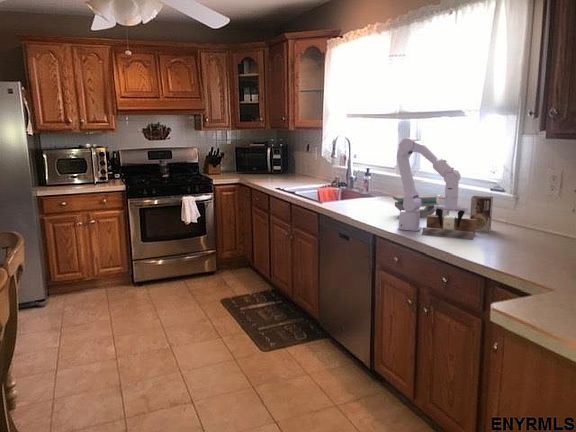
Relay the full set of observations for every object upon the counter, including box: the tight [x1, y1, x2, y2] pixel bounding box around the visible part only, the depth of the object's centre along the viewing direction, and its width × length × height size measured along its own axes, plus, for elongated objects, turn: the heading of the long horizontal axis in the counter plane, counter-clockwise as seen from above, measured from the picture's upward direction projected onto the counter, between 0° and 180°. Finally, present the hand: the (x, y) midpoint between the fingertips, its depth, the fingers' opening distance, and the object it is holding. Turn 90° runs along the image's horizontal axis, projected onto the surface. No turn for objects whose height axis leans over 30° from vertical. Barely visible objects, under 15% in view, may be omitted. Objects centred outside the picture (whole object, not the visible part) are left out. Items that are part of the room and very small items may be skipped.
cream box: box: [443, 215, 457, 230], centre depth 219 cm, size 5×7×7 cm
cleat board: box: [421, 215, 477, 241], centre depth 218 cm, size 22×12×7 cm, turn 62°
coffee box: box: [469, 195, 494, 233], centre depth 225 cm, size 9×6×16 cm
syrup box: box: [434, 194, 450, 217], centre depth 240 cm, size 6×6×14 cm
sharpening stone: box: [392, 194, 439, 218], centre depth 260 cm, size 25×8×11 cm, turn 98°
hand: (449, 226), depth 219 cm, fingers open, 7 cm apart
